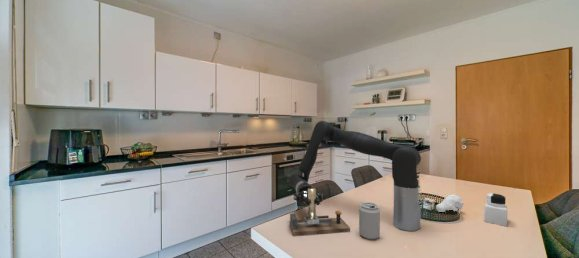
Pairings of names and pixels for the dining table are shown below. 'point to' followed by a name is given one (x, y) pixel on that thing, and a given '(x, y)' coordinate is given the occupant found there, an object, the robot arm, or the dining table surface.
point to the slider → (314, 209)
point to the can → (369, 220)
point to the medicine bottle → (495, 209)
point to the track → (318, 226)
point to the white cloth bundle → (450, 203)
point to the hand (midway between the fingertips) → (313, 203)
